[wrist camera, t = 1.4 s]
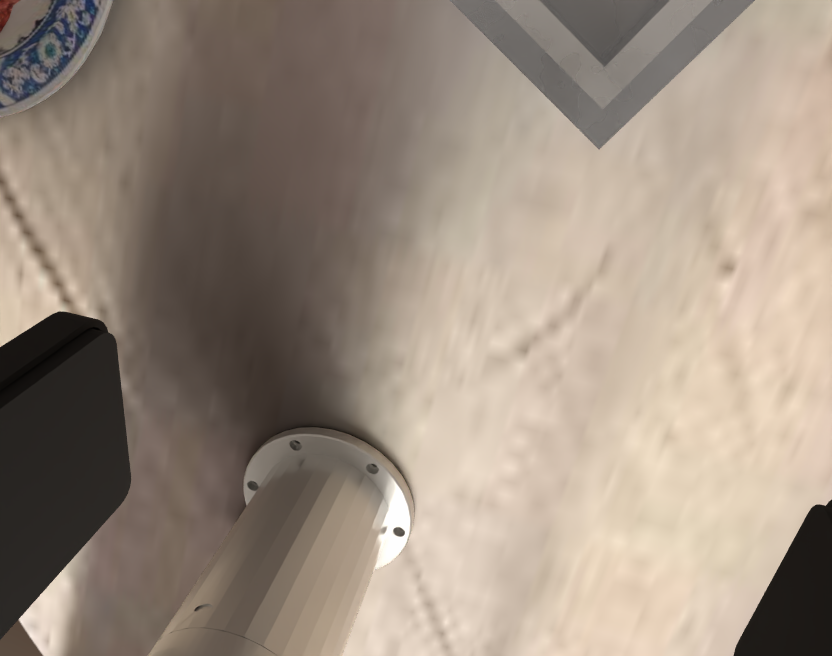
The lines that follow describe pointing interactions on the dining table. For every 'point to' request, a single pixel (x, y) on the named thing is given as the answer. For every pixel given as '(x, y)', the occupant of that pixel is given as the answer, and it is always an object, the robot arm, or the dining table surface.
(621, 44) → the grey square holder
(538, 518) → the dining table surface
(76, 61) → the ceramic plate
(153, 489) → the dining table surface
